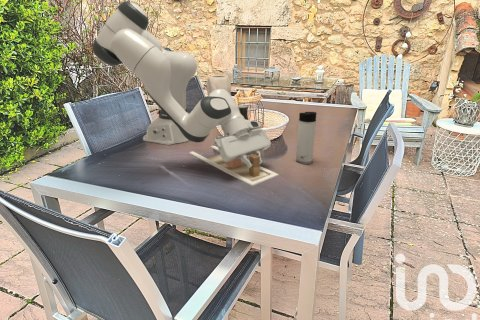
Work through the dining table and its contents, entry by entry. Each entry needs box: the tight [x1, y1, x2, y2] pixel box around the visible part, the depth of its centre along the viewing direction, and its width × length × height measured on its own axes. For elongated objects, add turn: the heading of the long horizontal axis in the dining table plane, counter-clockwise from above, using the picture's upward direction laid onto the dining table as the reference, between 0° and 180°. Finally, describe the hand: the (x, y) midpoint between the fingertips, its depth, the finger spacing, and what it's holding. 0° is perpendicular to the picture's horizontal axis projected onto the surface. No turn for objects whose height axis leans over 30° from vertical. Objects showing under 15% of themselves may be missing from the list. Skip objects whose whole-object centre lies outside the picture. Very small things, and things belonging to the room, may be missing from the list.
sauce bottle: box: [237, 104, 250, 120], centre depth 131 cm, size 7×6×20 cm
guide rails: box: [188, 145, 280, 187], centre depth 121 cm, size 38×12×2 cm, turn 40°
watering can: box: [206, 74, 232, 96], centre depth 212 cm, size 16×27×19 cm, turn 156°
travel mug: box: [295, 111, 318, 165], centre depth 123 cm, size 6×7×20 cm
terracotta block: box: [226, 158, 243, 168], centre depth 119 cm, size 4×4×4 cm
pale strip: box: [206, 154, 269, 182], centre depth 118 cm, size 26×8×8 cm, turn 40°
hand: (255, 165), depth 110 cm, fingers closed on pale strip, 2 cm apart
